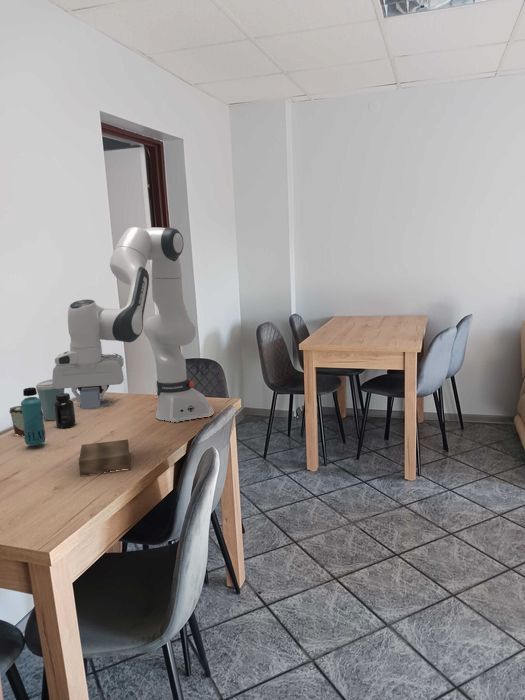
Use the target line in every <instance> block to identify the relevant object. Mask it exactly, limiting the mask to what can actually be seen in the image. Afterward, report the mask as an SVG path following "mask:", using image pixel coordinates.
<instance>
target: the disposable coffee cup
mask: <svg viewBox="0 0 525 700" xmlns="http://www.w3.org/2000/svg"><path fill="white" fill-rule="evenodd" d="M35 388H36V392H37V395H38V398H39V399H40V400H41V407H42V411H43V413H42V415H43V418H45V420H46V419H47V420H46V421H56V419H55V410H54V404H55V403H56V402H57V401H56V395H58V394H62V393H65V388H62V389H56V388H54V387H53V381H52V378H51V379H50V378H49V379H47V380H43V381H40V382H38V383H37V384H36V385H35Z"/></svg>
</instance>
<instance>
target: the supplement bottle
mask: <svg viewBox="0 0 525 700" xmlns="http://www.w3.org/2000/svg"><path fill="white" fill-rule="evenodd" d="M56 401H57V402H56V403H55V404H54V410H55V419H56V420H55V424H56V428H58V429H68V428H72V427H74V426H75V425H76V415H75V408H74V407H75V406H74V404H75V403H74V402H73V401H72V400H71V396H70V393H68V392H64V393H62V394H58V395H56Z"/></svg>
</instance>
